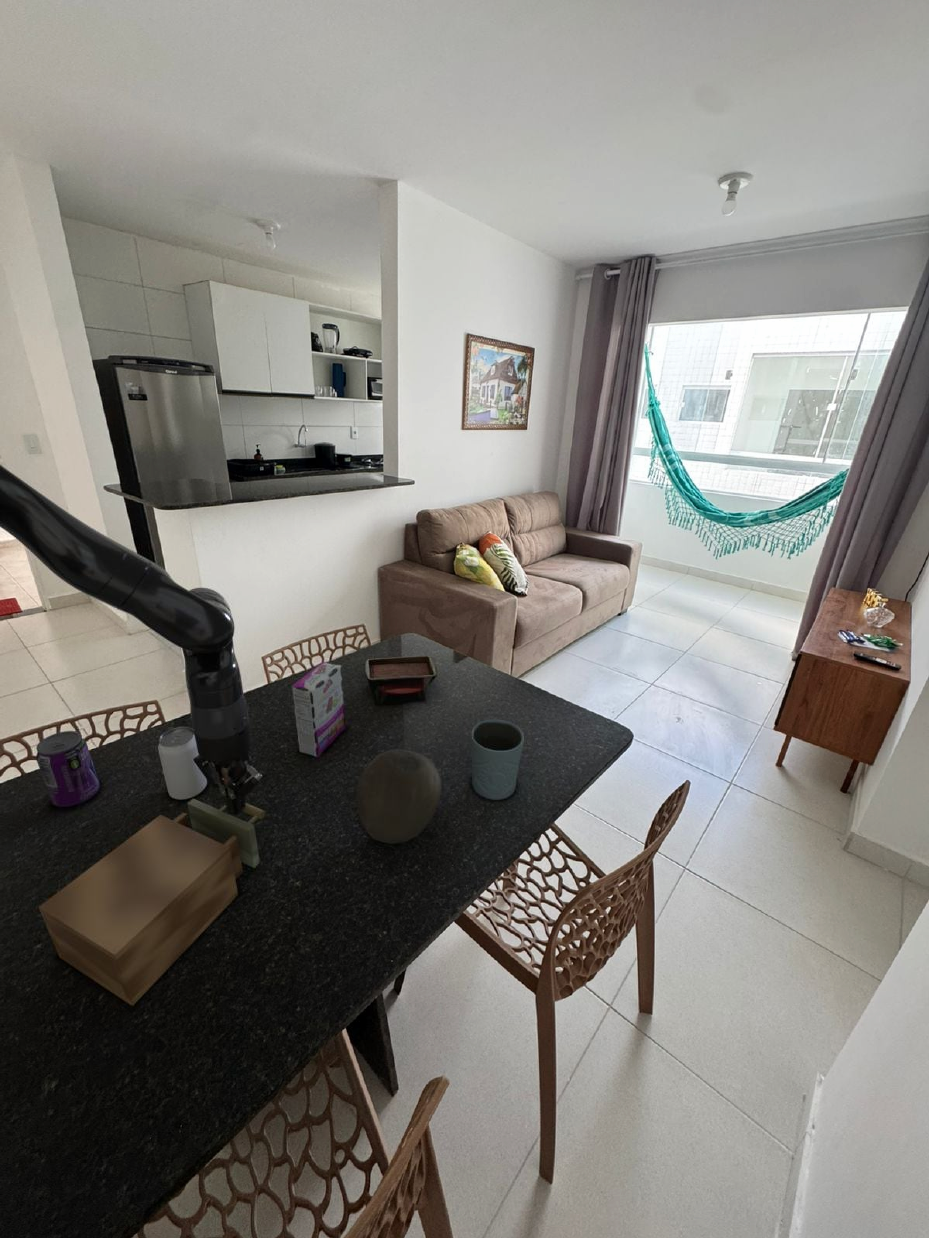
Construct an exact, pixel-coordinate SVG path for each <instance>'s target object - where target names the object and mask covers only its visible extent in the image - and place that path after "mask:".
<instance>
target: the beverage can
mask: <svg viewBox="0 0 929 1238" xmlns="http://www.w3.org/2000/svg"><path fill="white" fill-rule="evenodd" d="M36 751H37V752H36V754H35V759H36V762H37V765H38V768H39V771H40V774H41V776H42V779H43V782H44V785H45V788H46V790H47V793H48V796H49V799H50V802H51V803H52V805H54V806H56V807H61V808H64V807H73V806H76V805H79V804H81V803H83V802H86V801H88V800H89V799H90V798H92V797H93V796H94V795H96V794H97V792H98V791H99V789H100V782H99V778H98V775H97V772H96V769H95V766H94V762H93V760H92V759H93V758H92V756H91V752H90V749H89V746H88V743H87V741H86V739H84V738H83V737H82V735H81V733H79V732H78V731H75V730H64V731H59V732H55V733H54V734H51V735H49V736H47V737H45V738H43V739H41V741H39V742H38V743H37V745H36Z"/></svg>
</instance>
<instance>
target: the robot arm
mask: <svg viewBox="0 0 929 1238" xmlns="http://www.w3.org/2000/svg"><path fill="white" fill-rule="evenodd" d="M0 528H1V529H3V530H4V531H6V532H7V533H8V534H9V535H11V536H12V537H13V538H15V539H16V540H17V541H18V542H19V543H21V545H23V546H24V547H25V548H26V549H27V550H28V551H29V552H31V553H32V554H33V555H34V556H35V557H36V558H37V559H38V560H39V561H40V562H41V563H42V564H43V565H44V566H45V567H47V569H48V570H49V571H50V572H52V573H53V574H54V575H55V576H56V577H58V578H59V579H60V580H62V581H63V582H64V583H66V584H67V585H69V586H70V587H72V588H74V589H75V590H77V591H78V592H81V593H83V594H84V595H87V596H89V597H91V598H93V599H95V600H97V601H100V602H102V603H104V604H105V605H108V606H110V607H112V608H114V609H117V610H119V611H121V612H123V613H126V614H128V615H130V616H132V617H133V618H135V619H137V620H138V621H139V622H141V624H143V625H144V626H145V627H147V628H149V629H150V630H151V631H153V632H155V633H156V634H158V635H159V636H160V637H162V638H163V639H164V640H167V641H168V642H170V643H171V644H173V645H174V646H176V647H178V648H180V649H181V650H182V655H183V659H184V675H185V676H184V677H185V685H186V690H187V695H188V699H189V709H190V710H189V713H190V714H189V715H190V721H191V725H192V729H193V730H194V735H195V740H196V745H197V750H198V754H199V755H198V756H197V757H195V758H194V762H195V764H196V765H197V766H198V768H199V769H200V771H201V772H202V773H203V775H204V776H205V778H206V779H207V783H209V785H210V786H211V787H212V788H213V790H217V789H219V792H220V794H221V796H223V798H224V803H225V804H226V807H227V810H226V811H227V813H228V814H230V815H232V816H238V815H239V814H240V813H241V812H242V810H243V809H244V808H245V807H246V803H247V802H246V797H247V796H248V795H249V794H251V792H254V790H256V788H257V787H258V786H259V785H260V784H261V782H263V780H264V779H265V778H266V777H267V773H266V772H265V771H264V770H260V771H258V770H256V768H254V767H253V763H254V761H253V759H252V757H251V755H250V750H251V747H252V743H253V737H252V729H251V723H250V715H249V709H248V704H247V699H246V697H245V694H244V687H243V680H242V674H241V670H240V665H239V662H238V659H237V657H236V653H235V647H234V646H235V645H234V635H235V627H236V626H235V621H234V618H233V615H232V612H231V607H230V605H229V603H228V601H227V600H226V598H225V597H224V596H223V595H222V594H221V593H220V592H218V591H216V590H214V589H212V588H208V587H195V588H192V589H189V590H188V589H187V588H185V587H183V586H182V585H180V584H179V583H177V582H176V581H175V580H174V579H173V578H172V576H171V575H170V574H169V572H168V571H167V570H166V569H164V568H163V567H162V566H160V565H159V564H157V563H156V562H153V561H152V560H150V559H148V558H146V557H144V556H143V555H142V554H140V553H137V552H135V551H133V550H132V549H130V548H128V547H126V546H125V545H123V544H121V543H119V542H117V541H115V540H113V539H112V538H110V537H108V536H107V535H105V534H103V533H101V532H100V531H97V530H96V529H95V528H93V527H91V526H89V525H88V524H87V523H85V522H83V521H82V520H80V519H79V518H77V517H75V516H74V515H73V514H71V513H70V512H68V511H66V510H65V509H64V508H62V507H61V506H59V505H58V504H56V503H55V502H54V501H52V500H51V499H49V498H48V497H46V496H45V495H44V494H42V493H41V492H39V491H38V490H37V489H35V488H34V487H33V486H32V485H30V484H28V483H27V482H25V481H24V480H23V479H21V478H20V477H19V476H17V475H16V474H14V473H13V472H11V471H10V470H9V469H7V468H5V466H3V465H2V464H0ZM225 804H224V805H225Z"/></svg>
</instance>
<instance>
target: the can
mask: <svg viewBox="0 0 929 1238" xmlns="http://www.w3.org/2000/svg"><path fill="white" fill-rule="evenodd" d="M157 751H158V755H159V759H160V764H161V769H162V772H163V776H164V780H165V785H166V788H167V792H168V793H167V794H168V795H169V797H171V798H172V799H175V800H181V801H182V800H189V799H193V798H194V797H196V796H198V795H200V794H201V793H202V792H203V791H204V790H205V789H206V787H207V786H208V780H207V779H206V778H205V776H204V775H203V773H202V772H201V771H200V769H199V768H198V766H197V765H196V764H195V762H194V758H195V757H197V756H198V755H199V754H198V750H197V745H196V740H195V735H194V730H193V727H188V726H178V727H174V728H170V729H169V730H167V731H165V732H163V733H162V734H161V735H160V737H159V739H158V747H157Z"/></svg>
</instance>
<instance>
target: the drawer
mask: <svg viewBox="0 0 929 1238" xmlns="http://www.w3.org/2000/svg"><path fill="white" fill-rule="evenodd" d="M245 803H246V807H245V808H244V809H243V810H242V811H241V812H242V813H245V815H249V816H251V818H250V819H249V820H248V821H245V820H243V819H240V818H238V817H236V816H235V815H233V814H230V813H228V812H226V811H227V807H226V804H224V805H223V806H221V808H216V807H214V806H211V805H209V804H208V803H205V802H203V801H199V800H197V799H196V798H191V800H189V801H188V802H187V803H186V804H187V809H188V813H189V818H190V822H191V827H192V828H191V827H190V823H189V818H188V814H187V813H185V812H182V813H181V814H179V815H178V816H176V817H175V818H174V819H173V820H172V821H175V822H177V823H179V824H181V825H183V826H185V827H187V828H189V829H192V830H194V831H196V832H198V833H200V834H202V835H204V836H206V837H209V838H211V839H213V840H215V841H217V842H219V843H221V844H223V845H226V846H228V847H230V853H231V859H232V864H233V870H234V875H235V881H236V880H237V879H238V878H239V877H240V876H241V875H242V874H243V872H244V869H243V864H245V865H247V866H249V867H250V868H253V869H256V867H257V866H259V864H260V863H261V861H260V855H259V848H258V843H257V835H256V828H255V825H254V823H256V822H257V821H258V820H262V819H264V817H265V816H266V810H263V809H261V808H258V807H256V806H254V805H251V804H249V803H247V802H245ZM242 863H243V864H242Z"/></svg>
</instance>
